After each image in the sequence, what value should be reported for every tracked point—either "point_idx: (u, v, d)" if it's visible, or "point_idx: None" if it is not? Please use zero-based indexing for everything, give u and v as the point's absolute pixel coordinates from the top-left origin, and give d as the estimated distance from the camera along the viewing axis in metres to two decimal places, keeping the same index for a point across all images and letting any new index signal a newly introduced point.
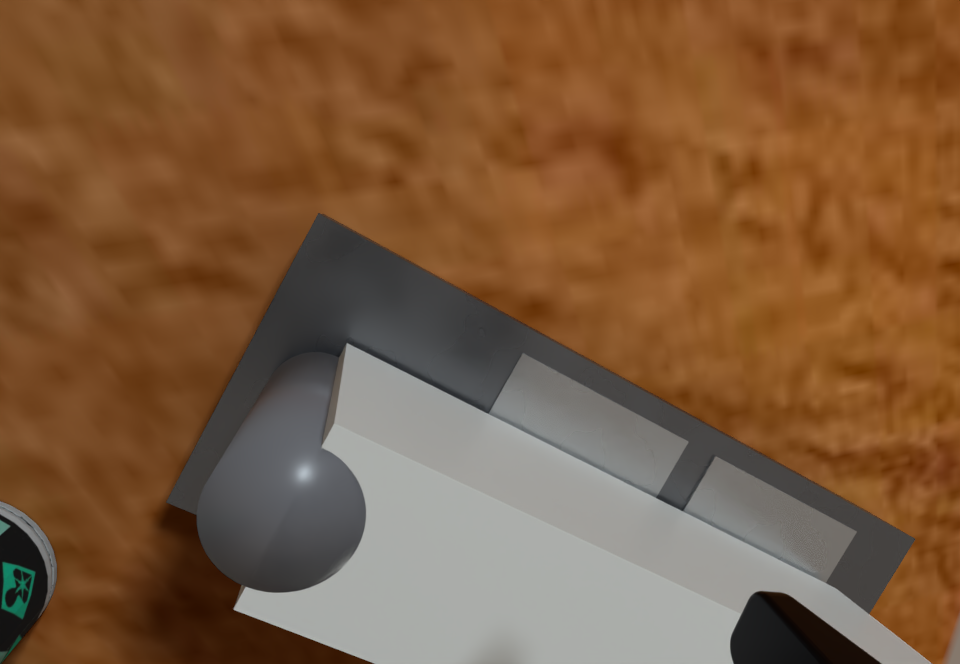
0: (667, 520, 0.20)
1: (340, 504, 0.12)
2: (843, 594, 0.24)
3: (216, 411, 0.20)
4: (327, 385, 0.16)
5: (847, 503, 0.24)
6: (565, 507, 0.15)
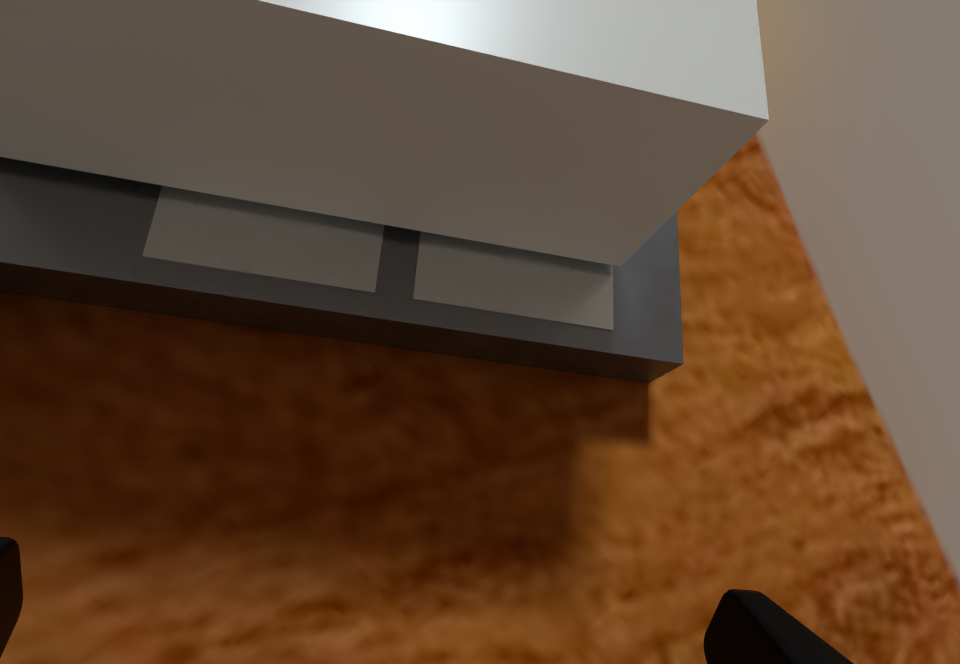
0: None
1: None
2: None
3: None
4: None
5: None
6: None
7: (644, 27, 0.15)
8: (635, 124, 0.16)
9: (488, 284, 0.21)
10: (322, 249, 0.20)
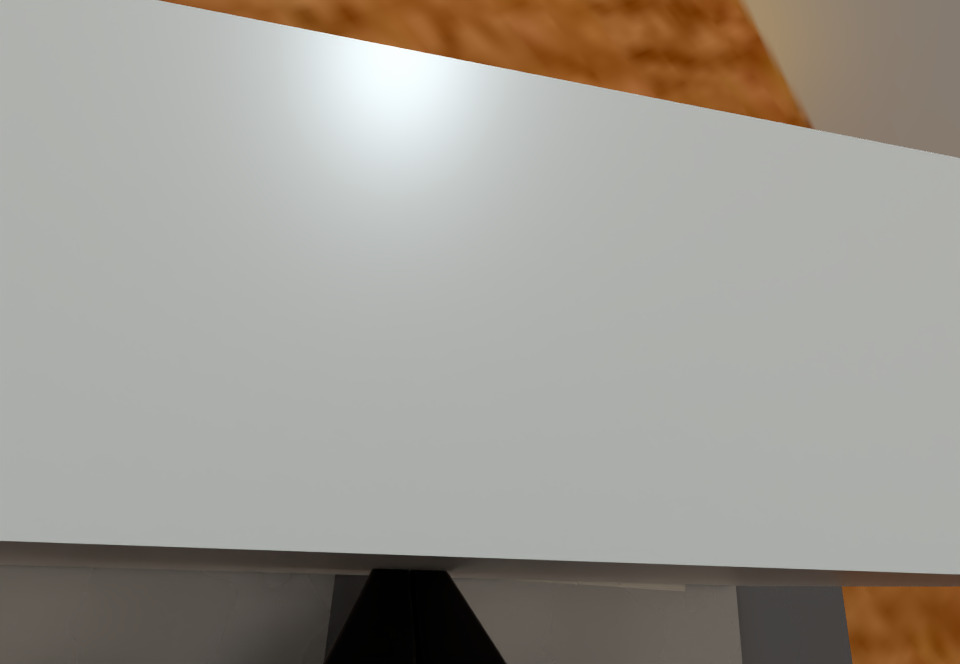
0: None
1: None
2: None
3: None
4: None
5: None
6: None
7: None
8: (943, 578, 0.06)
9: None
10: (212, 658, 0.11)
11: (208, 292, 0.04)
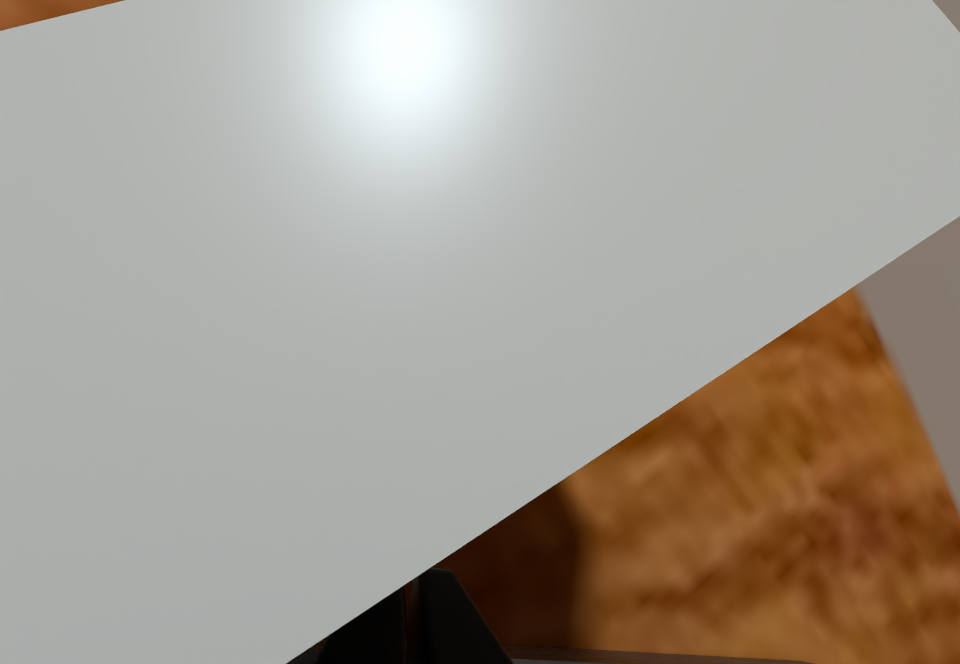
0: None
1: None
2: None
3: None
4: None
5: None
6: None
7: (702, 97, 0.05)
8: None
9: None
10: None
11: None
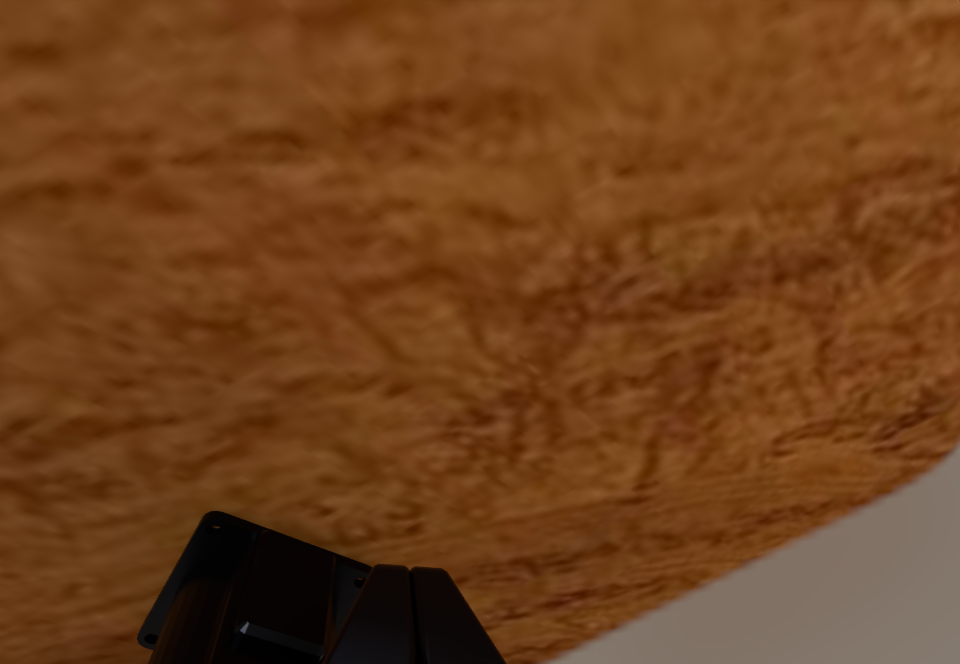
0: None
1: None
2: None
3: None
4: None
5: None
6: None
7: None
8: None
9: None
10: None
11: None
